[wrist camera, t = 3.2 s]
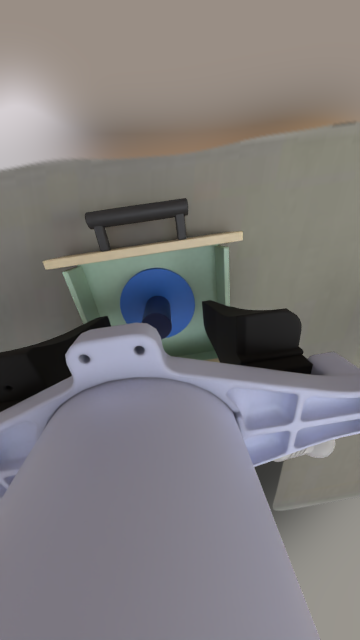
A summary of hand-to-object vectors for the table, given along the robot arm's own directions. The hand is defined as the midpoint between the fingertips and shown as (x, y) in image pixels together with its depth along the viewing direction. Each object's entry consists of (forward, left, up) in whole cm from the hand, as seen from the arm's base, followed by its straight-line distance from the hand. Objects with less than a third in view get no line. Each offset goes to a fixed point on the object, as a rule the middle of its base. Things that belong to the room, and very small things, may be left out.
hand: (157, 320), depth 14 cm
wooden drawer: (0, +1, -4) cm, 4 cm away
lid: (0, 0, -4) cm, 4 cm away
